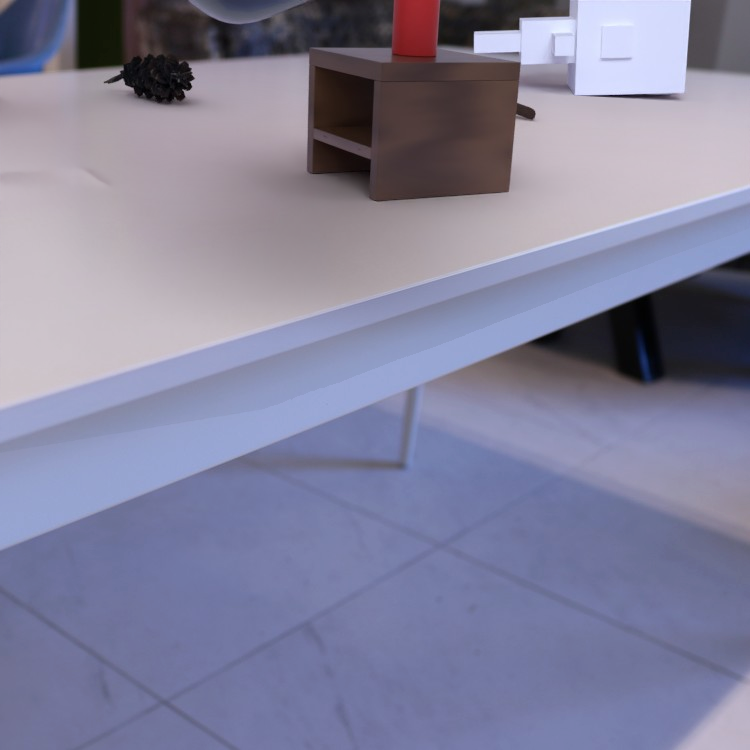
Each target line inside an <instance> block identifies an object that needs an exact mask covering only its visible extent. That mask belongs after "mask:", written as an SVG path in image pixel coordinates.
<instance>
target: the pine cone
mask: <svg viewBox="0 0 750 750" xmlns="http://www.w3.org/2000/svg"><path fill="white" fill-rule="evenodd" d="M122 67H123V68H122V69H121V70H119V74H117V75H114V76H112V77H110V78H109V79H107V80H105V81H103V84H108V85H109V84H110V85H111V84H115V83H118V82H119V81H121V80H123V82H124V86H126V87H128V88H132V89H133V92H134V94H135V95H136V96H137V97H138V98H140V97H142V96H145V99H147V100H151V99H153V98H154V99H155V100H156V102H157V103H158V104H159V103H162V102H163V101H166V102H168V104H171V103H172V102H173V101H174V100H176V101H178V102H182V101H183V100H184V99H186V98H187V96H186V94H185V92H189V91H191V90H192V89H193V84H192V83H191V82H192V81H194V80H196V78H195V76H193V71H192V70H193V68H192V67H190V64H189V63H188V61H186V60H183V61H182V62H180V61H179V58H178V57H177V56H175V55H174V54H173V53H172V52H170V53H168V54H167V55H166V56H165V55H164V54H163V53H159V54H157V55H156V57H155V56H154V55H153V54H151V53H148V54H147V55H146V56H144V58H141V56H140V54H138V55H137V56H133V57H132V58H131V60H130V62H126V63H123V64H122Z"/></svg>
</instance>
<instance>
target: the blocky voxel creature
mask: <svg viewBox="0 0 750 750" xmlns="http://www.w3.org/2000/svg"><path fill="white" fill-rule="evenodd" d="M691 8H692V0H569V13H568V14H569V15H568V16H544V17H543V16H542V17H541V16H540V17H519V25H518V26H519V27H518V29H513V30H511V29H509V30H478V31H477V30H476V31H473V54H491V53H492V54H494V53H496V54H497V53H518V60H519V62H520V63H521V66H522V65H553V64H554V65H556V64H558V65H559V64H567V76H566V77H567V78H566V79H567V80H566V81H567V83H566V85H567V86H568V88H569V89H570V91H571V92H572V93H573V95H574V96H610V95H613V96H615V95H617V96H619V95H646V96H668V95H669V96H670V95H672V94H685V91H686V76H687V64H688V51H689V48H688V47H689V36H690V35H689V34H690V21H691Z"/></svg>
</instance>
